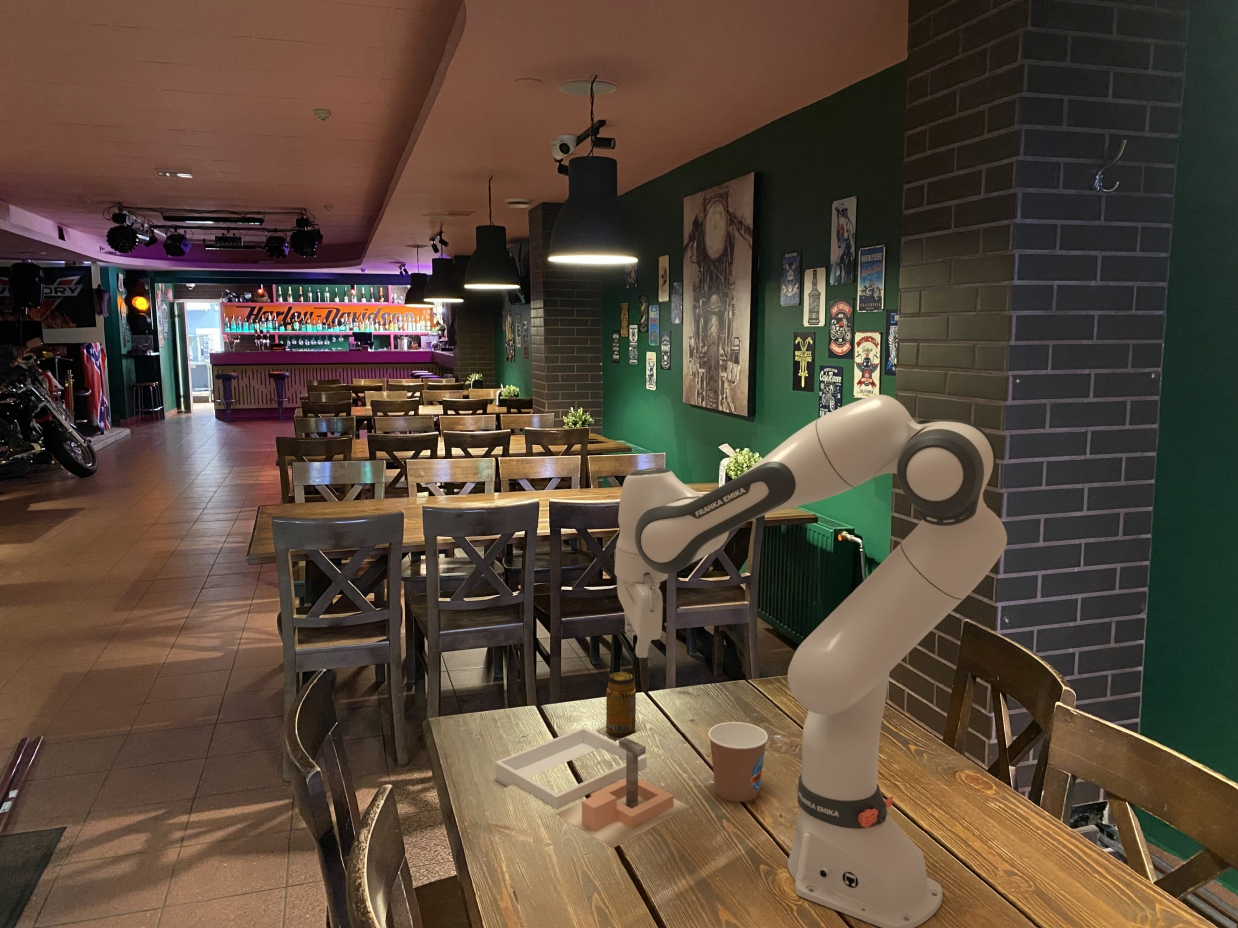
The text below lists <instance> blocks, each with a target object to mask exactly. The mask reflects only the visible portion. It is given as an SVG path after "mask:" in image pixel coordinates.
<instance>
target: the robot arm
mask: <svg viewBox="0 0 1238 928" xmlns="http://www.w3.org/2000/svg"><path fill="white" fill-rule="evenodd" d="M996 459H997V454H996V450H995V445H994V443H993V441H992V439H991V438H990V437H989V435H988V434H987V433H986V431H984V430H983V429H982V428H981V427H979V426H977V425H976V424H973V423H971V422H968V421H965V420H959V419H930V418H928V419H927V418H925V419H924V418H923V419H920V420H919V421H917V422H916V421H915V420H914V419H913V418H912V416H911V415H910V413H909V411H908V409H906V407H905V406H904V405H903V404H902V403H901V402H900V401H899V400H896V399H895V397H892V396H890V395H886V394H874V395H872V396H867V397H865V398H861V399H859V400H856V401H854V402H851V403H848V404H846V405H844V406H841V407H839V408H837V409H834V410H833V411H830V412H828V413H826V414H824V415H822V416H821V417H819V418H816V419H815V420H813V421H812V422H810V423H808V424H807V425H805V426H803V427H802V428H800V429H799V430H798V431H796V432H795V433H793V434H792V435H791V436H790V437H788V438H787V439H785V440H784V441H783V442H782V443H781V444H779V445H778V446H777V447H776V448H774V449H773V450H772V451H770V452H769V453H768V454H767V455H765V456H764V457H763V458H761V459H760V460H759V461H758V462H756V463H755V464H754V465H753V466H751V467H750V468H749V469H747V470H746V471H745V472H743V473H742V474H741V475H739V476H737V477H735V478H733V479H732V480H730V481H728V482H726V483H725V484H722V485H720V486H719V487H717V488H715V489H713V490H711V491H709V492H708V493H705V494H703V493H700V492H698V491H697V490H695V489H693V488H691V487H689V486H688V485H686V484H685V483H684V482H682V481H681V479H679V478H678V477H677V476H676V475H675V473H674V471H672V470H670V469H668V468H664V467H650V468H644V469H643V468H641V469H637V470H635V471H632V472H630V473H629V474H628V475H626V476H625V478H624V481H623V483H622V487H621V493H620V496H619V497H620V498H619V503H618V504H619V505H618V507H619V508H618V516H617V521H618V526H619V535H618V538H617V541H616V544H615V549H614V557H613V559H614V575H615V576H616V590H617V597H618V600H619V602H620V604H621V605H622V608H623V610H624V621H625V622H624V623H625V624H624V632H625V633H626V635H627V636H637V641H636V643H635V656H636V657H637V658H638V659H641V658H643V659H644V658H645V659H646V658H648V655H649V648H650V645H651V642H652V640H653V641H654V640H659V639H660V637H661V635H662V631H663V607H664V606H663V603H664V602H663V594H662V592H661V589H660V588H659V587H660V586H661V582H664V581H666V580H667V579H668V577H669V575H672V574H676V573H679V572H681V571H682V570H683V569H685V568H686V567H688V566H690V565H691V564H692V563H694V562H696V561H697V562H698V560H700V559H702V558H704V557H706V556H709V555H710V554H712V553H714V552H715V551H717V550H719V549H720V548H721V547H722V546H724V544H725V543H726V542H727V540H728V539H729V535H730V531H732V530H734V529H736V528H738V527H741V526H742V525H744V524H746V523H747V522H750V521H753V520H754V519H755V520H756V519H757V518H759V517H762V516H765V515H768V514H772V513H775V512H779V511H783V510H787V509H791V508H795V507H800V506H804V505H809V504H812V503H814V502H815V503H816V502H819V501H822V500H823V501H824V500H826V499H829V498H832V497H834V496H838V495H840V494H842V493H845V492H847V491H850V490H851V489H853V488H855V487H858V486H860V485H863V484H864V483H865V482H867V481H869V480H871V479H873V478H876V477H879V476H882V475H886V474H896V477H897V478H896V479H897V481H898V484H899V487H900V489H901V490H902V492H903V494H904V495H905V497H906V498H907V499H908V501H909V502H910V503H911V504H912V506H913V508H914V509H915V511H916V512H917V514H918V516H919V518H920V519H921V520H920V522H919V523H918V524H917V526H915V528H914V529H913V530H912V531H911V532H910V533H909V534H908V535H907V536H906V537H905V538H904V539H903V540H901V542H900V543H899V544H898V545H897V547H895V548H894V549H893V550H892V551H891V552H890V554H888V556H886V557H885V559H884V560H883V561H882V562H881V563H880V564H879V565H878V566H877V567H876V568H875V569H874V570H873V571H872V572H871V574H869V575H868V576H867V577H866V578H865V580H863V581H862V582H861V583H860V584H859V585H858V586H857V587H856V588H855V589H854V590H853V592H852V593H850V594H849V595H848V596H847V597H846V598H845V599H844V600H843V601H842V602H840V604H839V605H838V606H837V607H836V608H835V609H834V610H833V611H831V613H830V614H829V615H828V616H827V617H826V618H825V619H824V620H823V621H822V622H821V623H820V624H819V625H818V626H817V627H816V628H815V629H814V630H813V631H812V632H811V633H810V634H809V635H808V636H807V637H806V638H805V639H804V640H803V641H802V642H801V644H799V646H798V647H797V649H796V650H795V652H794V654H793V657H792V659H791V661H790V663H789V665H788V669H787V683H788V686H789V690H790V692H791V694H792V696H793V698H794V699H795V700H796V701H797V702H798V704H799V705H801V706H802V707H803V708H804V709H805V710H808V711H807V715H806V719H805V722H804V724H803V729H802V742H801V743H802V744H801V745H802V747H801V749H802V750H801V773H800V774H799V776H798V783H797V784H798V785H797V786H798V787H797V803H798V807H799V808H798V809H799V812H798V817H797V825H796V832H795V838H794V840H793V841H794V842H793V844H792V848H791V852H790V855H789V857H788V859H787V867H788V871H789V873H790V875H791V876H792V878H793V880H794V891H795V894H796V895H797V896H799V897H801V898H804V899H806V900H809V901H811V902H813V903H816V904H819V905H822V906H825V907H827V908H829V909H832V910H834V911H838V912H840V913H843V914H845V915H848V916H849V917H853V918H856V919H859V920H860V921H864V922H865V923H868V924H871V925H874V926H877V927H879V928H916V927H919V926H920V925H922V924H923V923H924V922H926V921H927V920H928V919H930V918H932V917H933V915H935V913H937V911H938V909H940V906H941V905H942V901H943V887H942V885H941V884H940V883H939V882H937V881H936V880H934V879H932V878H931V877H929V876H928V875H927V867H926V861H925V857H924V854H923V852H922V850H921V849H920V847H919V846H917V845H916V844H915V842H914V841H913V840H912V839H911V838H910V837H909V836H908V834H906V832H904V831H903V829H901V827H900V826H899V825H898V824H897V822H896V821H895V820H893V818H892V817H891V816H890V815H889V814H888V808H890V807H891V806H892V805H893V804H894V802H893V799H894V796H890V797H888V798H887V799H886V800H884V797H883V793H882V790H881V787H880V785H879V783H878V772H879V771H878V770H879V769H878V768H879V749H880V748H879V747H880V736H881V728H882V723H883V718H884V711H885V707H886V706H885V705H886V699H887V693H888V687H889V681H890V672H891V671H892V670H893V669H894V668H895V667H896V666H897V665H898V664H899V663H900V662H901V661H902V660H903V659H904V658H905V657H906V656H907V655H908V654H909V653H910V652H911V651H912V650H913V649H914V648H915V647H916V646H917V645H918V644H919V643H920V642H921V641H922V640H923V639H924V638H925V637H926V636H927V635H928V634H929V633H930V632H931V631H932V630H933V629H934V628H936V626H937V625H938V624H939V623H941V622H942V621H943V620H944V619H945V618H946V616H947V615H949V614H950V613H951V612H952V611H953V610H955V608H956V607H957V606H958V605H959V604H960V603H962V601H964V600H965V599H966V597H968V596H969V595H970V594H971V593H972V591H974V590H975V588H976V587H978V585H979V584H980V583H981V582H982V581H983V579H984V578H985V577H986V576H987V575H988V574H989V572H990V571H991V569H992V568H993V567H994V565H995V564H996V563H997V562H998V560H999V559H1000V557H1001V555H1002V554H1003V552H1004V551H1005V549H1006V547H1007V541H1008V535H1007V531H1006V529H1005V526H1004V524H1003V522H1002V521H1001V519H1000V518H999V517H998V515H997V514H996V513H995V512H994V511H993V510H991V509H990V508H989V507H987V504H986V503H985V500H984V492H985V489H986V487H987V484H988V483H989V480H990V478H991V477H992V476H993V474H994V470H995V469H996V462H997V460H996Z"/></svg>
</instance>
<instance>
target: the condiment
mask: <svg viewBox="0 0 1238 928" xmlns="http://www.w3.org/2000/svg"><path fill="white" fill-rule="evenodd" d="M607 679H608V680H607V681H608V683H607V686H608V687H607V688H606V695H605V696H606V698H605V700H606V701H605V703H606V704H605V705H606V706H605V708H606V715H605V716H606V721H605V723H606V726H605V727H601V728H599V729H597V730H596V731H597V732H599V733H601V734H603V735H604V736H606V737H607V738H610V739H611V740H612V739H613V741H614V740H615V742H617V741H619V740H621V739H623V738H628V737H629V736H631V735H634V734H636V733H638V732H641V731H642V729H640V728H638V727H636V721H637V720H636V719H637V717H636V712H637V711H636V710H637V709H636V706H637V705H636V702H637V697H636V695H637V691H636V688H635V683H634V682H635V677H634V675H633V674H631V673H628V672H625V671H624V672H623V671H618V672H617V671H616V672H613V673H611V674H609V676H608V678H607Z"/></svg>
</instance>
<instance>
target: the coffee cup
mask: <svg viewBox="0 0 1238 928" xmlns="http://www.w3.org/2000/svg"><path fill="white" fill-rule="evenodd" d="M707 733H708V738H709V741H710V742H709V743H710V751H711V753H710V754H711V760H712V770H713V779H714V780H713V781H714V788H715V793H716V795H718V797H719V798H722V799H724V800H727V801H730V802H736V803H737V802H741V803H742V802H743V803H744V802H749V801H752V800H754V799H755V798H757V797H758V794H759V791H760V790H759V789H760V784H761V779H762V778H761V777H762V771H763V764H764V756H765V751H766V750H765V749H766V743H767V741H768V739H769V737H768V734H767V732H766V731H765V730H764V729H763V728H762V727H759V726H757V725H754V724H753V723H748V722H747V723H746V722H739V721H731V722H729V721H728V722H721V723H719V724H716V725H713V726H712V727H711V728H709V730H708V732H707Z"/></svg>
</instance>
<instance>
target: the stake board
mask: <svg viewBox="0 0 1238 928" xmlns="http://www.w3.org/2000/svg"><path fill="white" fill-rule="evenodd" d="M618 744H619V747H620V748H622V749H624V750H626V760H625V763H626V777H625V778H626V796H624V797H622V798H620V799H618V800H617V801H618V802H620V803H622V804H624V805H626V806H628V807H630V808H631V809H632V808H634V807H636V806H638V805H640V804H642V803H644V802H646V801H647V800H646V799H644V798H642V797H640V796H638V778H639V771H638V756H641V755H645V754H646V753H647V752H646V751H647V750H646V745H643V744H641V743H638V742H637V741H635V740H632V739H630V738H628V737H624V738H622V739H620V740H618ZM689 808H691V806H690V805H689V804H685V803H684V802H681V801H680V800H678V799H676V798H674V807H672V808H670V809H668V810H666V811H664V812H662V813H660V814H658V815H656V816H654V817H653V818H651V819H649V820H647V821H645V822H643V823H641V824H639V825H637V826H635V827H633V828H630V827H628V826H626V825H625V824H623V823H621V822H619V821H617V820H616V821H614V822H612V823H610V824H608V825H606V826H604V827H602V828H600V829H598V830H596V831H593V830H591V829H589V828H587V827H586V826H584V825H582V801H580V802H578V803H576V804H574V805H572V806H568V807H567V808H565V809H562V810H561V811H559V812H556V813H555V814H556V815H557V816H558V817H560V818H562V819H563V820H565V821H567V822H569V823H570V824H572V825H573V826H575V827H576V828H579V829H580V830H582V831H584V832H585V833H587V834H588V835H590V836H592V837H594V838H595V839H596V840H598V841H601V842H602V843H604V844H605V845H607V846H609V847H611V848H612V849H614V848H616V847H618V846H620V845H622V844H624V843H625V842H627V841H629V840H631V839H633V838H635V837H636V836H639V835H640V834H642V833H644V832H646V831H649V829H651V828H654V827H655V826H657V825H659V824H661V823H663V822H665V821H667V820H669V819H670V818H673V817H674V816H676V815H678V814H679V813H681V812H683V811H685V810H687V809H689Z"/></svg>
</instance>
